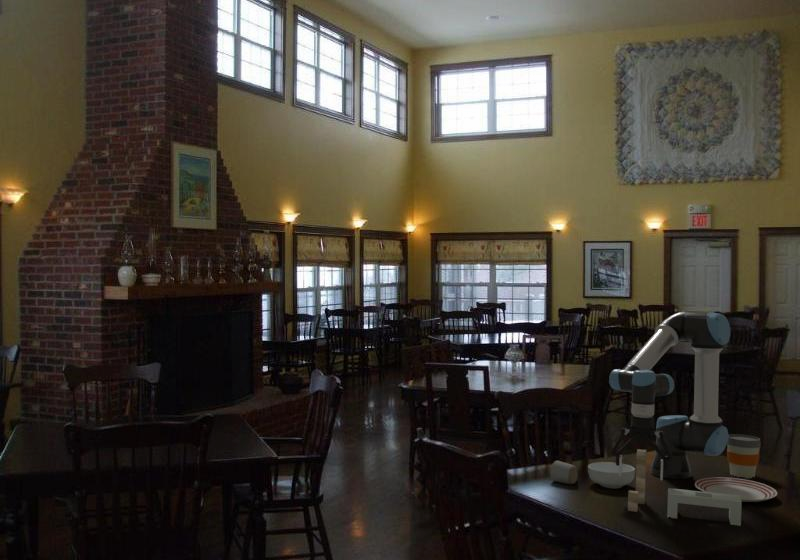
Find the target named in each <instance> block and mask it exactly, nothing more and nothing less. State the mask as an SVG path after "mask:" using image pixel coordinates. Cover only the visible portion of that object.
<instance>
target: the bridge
mask: <svg viewBox="0 0 800 560" xmlns="http://www.w3.org/2000/svg"><path fill="white" fill-rule="evenodd" d="M678 504H685V505H693V506H701V507H702V506H703V507H708V508H709V507H712V508H719V509H727V510H728V520H729V524H730V525H731V526H732V525H733V526H738V527H739V526H740V527H741V526H742V504H743V503H742V502H741V499H740V496H739V495H729V494H719V493H710V492H703V491H701V490H700V491H698V490H689V489H680V488H679V489H678V488H671V487H668V488H667V510H666V511H667V515H666V516H667V517H666V518H669V517H671V518H670V519H678V506H679V505H678Z"/></svg>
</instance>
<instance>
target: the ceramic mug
mask: <svg viewBox="0 0 800 560" xmlns="http://www.w3.org/2000/svg"><path fill="white" fill-rule="evenodd" d="M578 470H579V469H578V467H577V466H576V465H574V464H570V463H567V462H563V461H560V460H555V461H554V462H553V463H552V465H551V469H550V478H551V480H552V482H557V483H561V484H565V485H573V484H575V483H576V482H577V481H578V478H579V477H578V476H579V471H578Z"/></svg>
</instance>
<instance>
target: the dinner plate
mask: <svg viewBox="0 0 800 560" xmlns="http://www.w3.org/2000/svg"><path fill="white" fill-rule="evenodd" d="M694 486H695V488H696V489H698V490H700V492H710V493H719V494H729V495H739V496H740V499H741V502H754V503H759V502H765V501H768V500H771V499H773V498H775V497H776V496H778V492H777V490H776V489H775V488H773V487H772V486H770V485H767V484H765V483H761V482H759V481H758V482H757V481H754V480H750V479H746V478H738V477H724V476H723V477H722V476H721V477H719V476H718V477H716V476H715V477H714V476H713V477H712V476H711V477H705V478H699V479H697V480H696V481H695V482H694Z"/></svg>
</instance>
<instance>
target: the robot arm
mask: <svg viewBox="0 0 800 560" xmlns="http://www.w3.org/2000/svg"><path fill="white" fill-rule="evenodd" d="M730 338H731V326H730V322H729V320H728V319H727V317H726V316H725V315H724V314H722V313H716V312H713V311H710V312H709V311H690V310H683V311H680V312H676V313H674V314H672V315H670V316H668V317H666V318H665V319H664V320H662V321H661V322H660V323H659V324H658V325H657V326H656V328H655V329H654V334H653V335H652V336H651V337H650V338H649V339H648V340H647V342H646V343H645V344H644V345H643V346H642V347H641V348H640V349H639V351H638V352H637V353H636V354H635V355H633V356H632V358H631V359H630V360H629V362H628V363H627V364H626V365H625V366H624V367H623V368H622V369H621V368H618V369H617V368H615V369H612V371H611V372H610V374H609V377H608V378H609V380H608V381H609V386H610V387H611V389H613V390H616V391H620V392H628V393H631V409H630V411H631V414H632V415H631V416H630V428H629V429H628V428H626V427H622V428H621V430H620V435H619V437H618V439H617V440H616V442H615V444H614V445H613V447H612V448H611V451H610V455H614V456H615V463H616V465H617V466H619V476H621V475H622V464H623V455H622V454H623V453H625V451H626V450H627V449H628V448H629V447H630V446H631V445H632V444H633V443H634V442H636V443H640V444H641V443H642V444H648V443H649V444H650V446H652V448H653V449H654V450H655V455H654V456H653V460H652V463H651V465H650V473H651V475H652V476H656V477H659V479H660V481H663V479H664V478H665V479H671V480H672V479H673V480H684V479H685V480H687V479H690V478H691V477H692V469H691V466H690V462H689V459H688V452H690V453H693V454H694V453H695V454H701V455H704V456H712V457H717V456H720V455H721V454H722V453H723V452H724V451H725V449H726V447H727V441H728V435H729V431H728V428H727V427H726V426H724V425H723V419H722V418H721V417H720V416H719V382H720V381H719V377H720V375H719V374H720V353H721V352H722V351H723V350H724V348H725V346H726V345H727V344H729V341H730ZM679 342H690V348H691V349H692V350H693V351H694V384H693V385H694V387H693V389H694V390H693V391H694V395H693V397H694V399H693V400H694V402H693V414H692V415H691V416H689V417H688V416H687V415H683V414H682V415H679V414H675V415H672V414H671V415H663V416H659V417H658V418H657V420H656V427H655V418H654V415H655V405H656V404H655V397H661V396H662V397H665V396H667V395H670V394H671V393H673V391H674V389H675V381H674V378H673V377H672V376H671V375H670V374H667V373H655V371H653V370H652V369H653V367H654V366H655V365H656V364H657V363H658V362H659V360H660V359H661V358H662V357H664V355H665V353H666V352H667V351H668V350H669V349H670V348H671V347H674V346H676V345H677V344H678V343H679ZM724 345H725V346H724ZM654 428H656V429H654ZM628 433H629V434H630V438H629V440H628V441H626V442H625V444H624V445H623V446H622V447H621V448H620V449H619V450H618V448H619V446H620V445H621V443H622V441H623V439H624V437H625V436H626V435H628ZM655 436H656V437H655ZM654 437H655V440H654V439H653V438H654ZM617 450H618V451H617Z"/></svg>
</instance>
